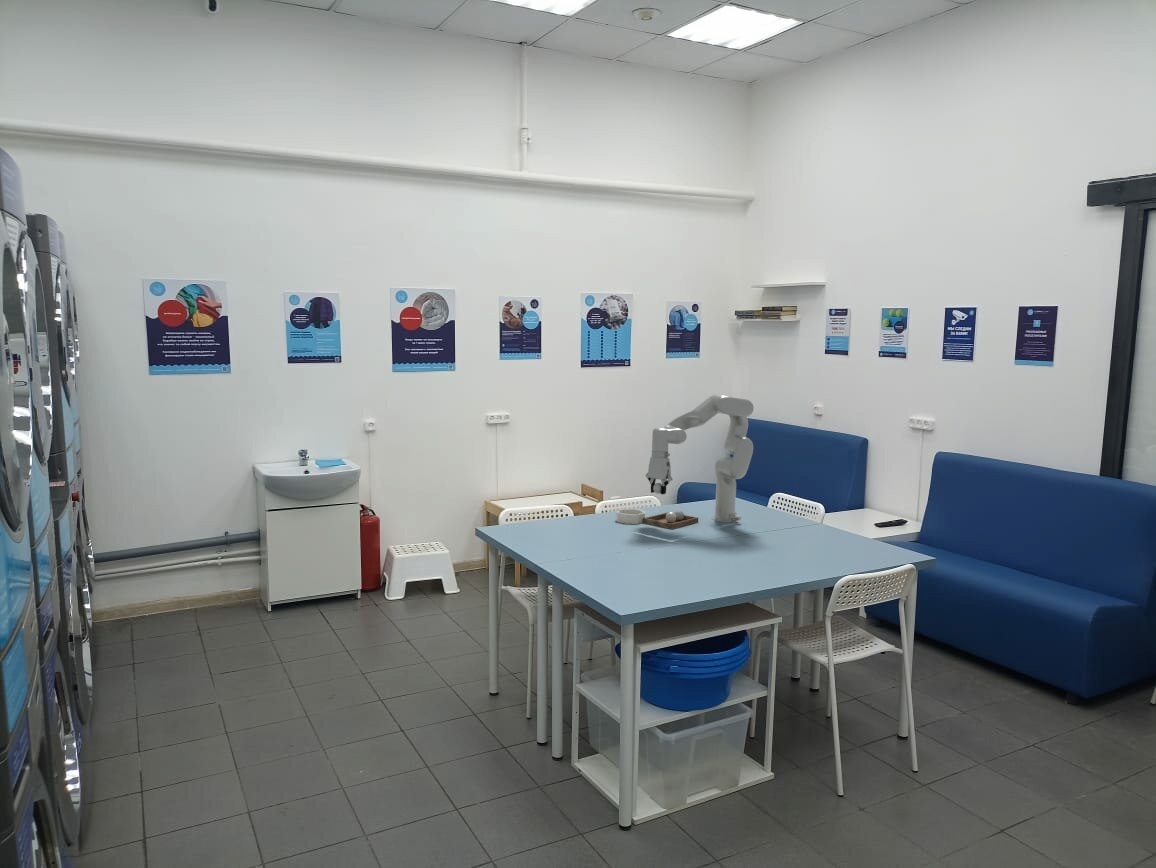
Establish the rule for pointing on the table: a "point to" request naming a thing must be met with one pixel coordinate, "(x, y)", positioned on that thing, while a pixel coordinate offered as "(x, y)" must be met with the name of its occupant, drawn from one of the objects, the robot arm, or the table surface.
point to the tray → (662, 522)
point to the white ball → (657, 488)
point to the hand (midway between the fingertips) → (658, 492)
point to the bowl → (630, 516)
